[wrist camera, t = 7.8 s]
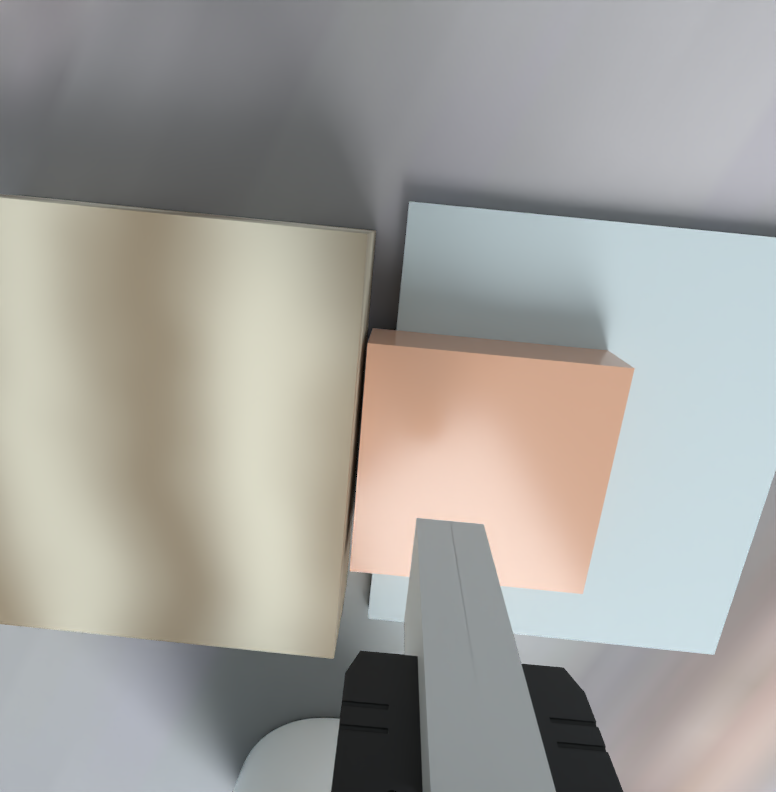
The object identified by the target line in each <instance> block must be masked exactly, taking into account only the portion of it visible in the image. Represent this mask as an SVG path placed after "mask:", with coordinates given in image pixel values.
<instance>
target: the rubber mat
mask: <svg viewBox="0 0 776 792" xmlns="http://www.w3.org/2000/svg"><path fill="white" fill-rule="evenodd" d="M396 330H398V331H409V332H420V333H430V334H441V335H451V336H462V337H473V338H483V339H494V340H504V341H515V342H526V343H536V344H547V345H557V346H568V347H579V348H589V349H600V350H608V351H610V352H611V353H613V354H614V355H616V356H617V357H619V358H620V359H622V360H623V361H624V362H626V363H627V364H629V365H630V366H632V367H633V368H635V369H634V373H633V378H632V382H631V386H630V391H629V395H628V399H627V404H626V408H625V412H624V417H623V421H622V426H621V430H620V434H619V439H618V443H617V447H616V452H615V456H614V460H613V465H612V469H611V474H610V478H609V482H608V487H607V491H606V495H605V500H604V504H603V508H602V513H601V517H600V522H599V526H598V530H597V535H596V539H595V543H594V548H593V552H592V556H591V561H590V565H589V570H588V574H587V578H586V583H585V587H584V591H583V594H576V593H566V592H556V591H546V590H536V589H526V588H516V587H505V586H500V587H501V590H502V594H503V598H504V601H505V605H506V609H507V613H508V616H509V620H510V624H511V627H512V631H513V634H521V635H530V636H540V637H549V638H559V639H569V640H578V641H588V642H597V643H607V644H617V645H626V646H636V647H645V648H655V649H665V650H674V651H684V652H693V653H703V654H713V655H714V653H715V650H716V647H717V644H718V641H719V638H720V635H721V632H722V629H723V626H724V623H725V620H726V617H727V614H728V611H729V608H730V605H731V602H732V599H733V596H734V593H735V590H736V587H737V584H738V581H739V578H740V575H741V572H742V569H743V566H744V563H745V560H746V557H747V554H748V551H749V548H750V545H751V542H752V539H753V536H754V533H755V530H756V527H757V524H758V521H759V518H760V515H761V512H762V509H763V506H764V503H765V500H766V497H767V494H768V491H769V488H770V485H771V482H772V479H773V476H774V473H775V470H776V237H766V236H756V235H746V234H736V233H726V232H715V231H705V230H695V229H685V228H675V227H664V226H654V225H644V224H634V223H624V222H614V221H603V220H593V219H583V218H573V217H563V216H552V215H542V214H532V213H522V212H512V211H501V210H491V209H481V208H471V207H461V206H450V205H440V204H430V203H420V202H410V201H409V208H408V218H407V228H406V238H405V248H404V258H403V268H402V279H401V289H400V299H399V309H398V319H397V329H396ZM408 584H409V577H404V576H394V575H384V574H373V573H372V580H371V590H370V600H369V611H368V619H377V620H386V621H396V622H404V617H405V609H406V601H407V592H408Z"/></svg>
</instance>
